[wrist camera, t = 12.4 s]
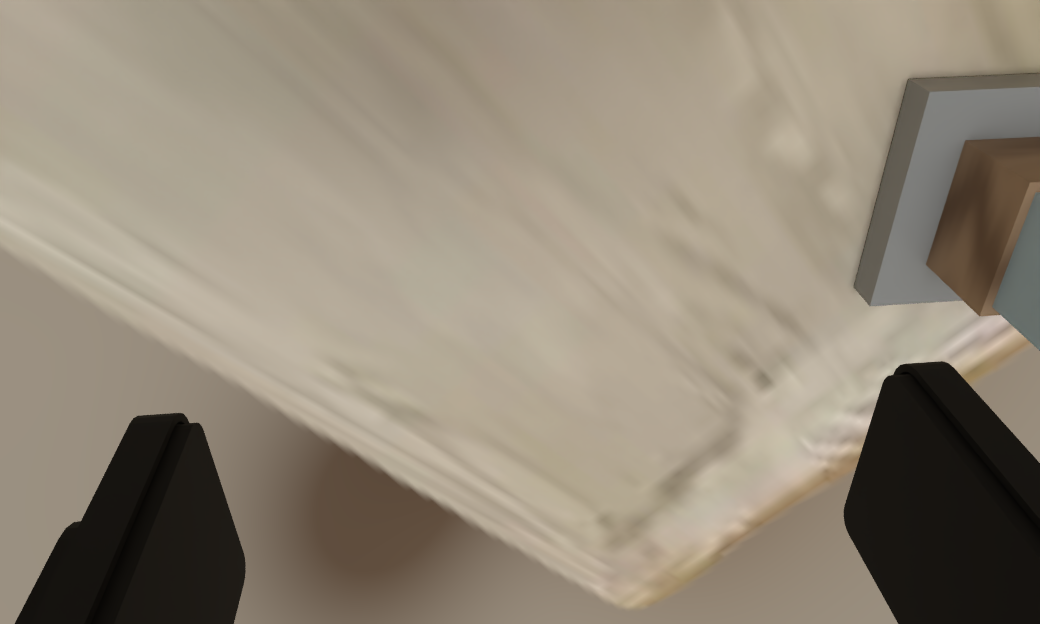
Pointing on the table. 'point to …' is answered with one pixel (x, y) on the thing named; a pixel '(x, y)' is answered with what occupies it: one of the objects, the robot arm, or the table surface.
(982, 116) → the slate base
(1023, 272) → the cube
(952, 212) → the walnut block
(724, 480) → the table surface
